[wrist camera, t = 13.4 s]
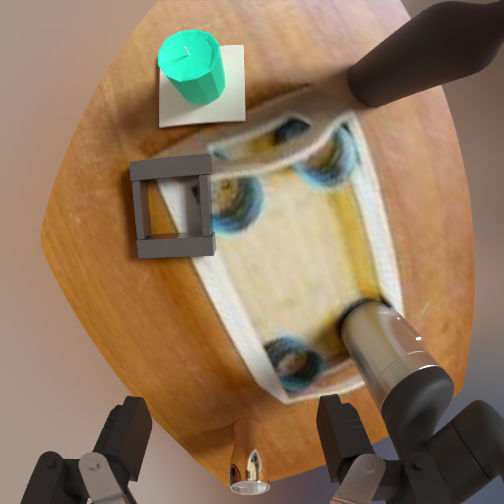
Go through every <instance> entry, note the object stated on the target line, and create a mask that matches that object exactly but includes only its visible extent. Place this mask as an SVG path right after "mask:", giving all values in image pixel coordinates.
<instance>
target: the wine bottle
mask: <svg viewBox="0 0 504 504" xmlns="http://www.w3.org/2000/svg"><path fill="white" fill-rule="evenodd" d="M503 42H504V0H500V1H498V2H493V3H489V4H473V3H466V2H460V1H446V2H442V3H438V4H435V5H432V6H430V7H429V8H427V9H426V10H423V11H422V12H421V13H419V14H418V15H417V16H415V17H414V18H412V19H411V20H410V21H408V22H407V23H406V24H404V25H403V26H402V27H401V28H399V29H398V30H397V31H395V32H394V33H393V34H391V35H390V36H389V37H388V38H386V39H385V40H384V41H383V42H381V43H380V44H379V45H378V46H376V47H375V48H374V49H373V50H372V51H370V52H369V53H368V54H367V55H366V56H364V57H363V58H362V59H361V60H360V61H358V62H357V63H356V64H355V65H354V66H353V67H352V68H351V69H350V72H349V75H348V83H349V87H350V89H351V91H352V93H353V94H354V96H355V97H356V98H357V99H358V100H360V101H361V102H362V103H364V104H366V105H369V106H375V107H377V106H383V105H386V104H388V103H391V102H393V101H396V100H399V99H401V98H404V97H407V96H410V95H412V94H415V93H418V92H421V91H424V90H427V89H430V88H432V87H435V86H439V85H442V84H445V83H447V82H451V81H454V80H458V79H461V78H464V77H467V76H470V75H473V74H475V73H478V72H480V71H481V70H483V69H484V68H486V67H487V66H488V65H490V63H491V62H492V61H493V59H494V58H495V57H496V55H497V53H498V51H499V49H500V47H501V45H502V44H503Z"/></svg>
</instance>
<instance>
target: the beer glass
mask: <svg viewBox="0 0 504 504" xmlns="http://www.w3.org/2000/svg"><path fill="white" fill-rule="evenodd" d="M233 432H234V436H235V443H234V448H233V451H232V456H231V460H230V469H229V471H230V486H231V487H230V488H231V490H232V491H233V492H235V493H238V494H243V495H256V494H261V493H264V492H266V491H268V490H269V489H270V468H269V462H268V458H267V454H266V451H265V448H264V445H263V441H262V435H263V424H262V423H261V422H260V421H258V420H255V419H242V420H239V421H237V422H236V423H235V424H234V425H233Z"/></svg>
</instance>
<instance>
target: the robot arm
mask: <svg viewBox="0 0 504 504" xmlns="http://www.w3.org/2000/svg"><path fill="white" fill-rule="evenodd" d="M341 339H342V341H343V343H344V345H345V347H346V348H347V350H348V352H349V354H350V356H351V358H352V360H353V362H354V364H355V365H356V367H357V369H358V371H359V373H360V375H361V377H362V379H363V381H364V383H365V385H366V387H367V388H368V390H369V392H370V394H371V396H372V398H373V400H374V402H375V404H376V406H377V408H378V410H379V412H380V414H381V416H382V418H383V420H384V422H385V424H386V428H387V431H388V434H389V436H390V438H391V440H392V442H393V444H394V447H395V449H396V452H397V454H398V457H399V460H385V459H382V458H381V457H380V456H378V455H376V453H375V452H374V450H373V448H372V446H371V443H370V441H369V438H368V436H367V434H366V431H365V429H364V427H363V424H362V422H361V420H360V417H359V415H358V412H357V410H356V409H355V408H354V407H353V406H352V405H351V404H350V403H345V404H341V401H340V398H339V396H338V394H332V395H325V396H321V397H320V401H319V406H318V412H317V418H316V423H317V429H318V433H319V437H320V441H321V444H322V448H323V452H324V456H325V460H326V464H327V467H328V471H329V475H330V479H331V482H332V483H335V482H339V485H340V487H339V489H338V491H337V492H336V494H335V496H334V497H333V499H332V500H331V501H330V503H329V504H370V502H371V501H372V500H374V501H376V500H385V501H386V504H461V503H463V502H464V501H466V500H467V499H468V498H470V497H471V496H473V495H474V494H475V493H476V492H478V491H479V490H481V489H482V488H483V487H484V486H485V485H487V484H488V483H489V482H491V481H492V479H494V478H495V477H497V476H499V475H500V476H501V477H502V480H503V482H504V419H503V418H502V417H501V415H500V414H499V413H498V412H497V411H496V410H495V409H494V408H493V407H492V406H491V405H489V404H488V403H486V402H484V401H482V400H476V401H473V402H472V403H471V404H469V405H468V406H467V407H466V408H464V409H463V410H462V411H461V412H460V413H459V414H458V415H457V416H455V417H454V418H453V419H452V421H450V422H449V423H448V424H446V425H445V426H444V427H443V428H442V429H441V430H440V431H438V432H437V433H436V434H434V435H433V433H434V430H435V428H436V426H437V424H438V422H439V420H440V418H441V417H442V415H443V414H444V412H445V411H446V409H447V407H448V406H449V403H450V402H451V399H452V397H453V393H454V384H453V381H452V379H451V378H450V376H449V375H448V374H447V373H446V371H445V370H444V369H443V368H442V367H441V366H440V365H439V364H438V362H437V361H436V360H435V359H434V358H433V357H432V356H431V355H430V353H429V352H428V351H427V350H426V349H425V348H424V347H423V345H422V344H421V343H420V341H421V336H420V335H419V334H418V332H417V331H416V330H415V329H414V328H413V327H412V326H411V325H410V324H409V323H408V322H407V321H406V320H405V319H404V318H403V317H402V316H401V315H400V314H399V313H398V312H397V311H396V310H395V309H394V308H393V307H387V306H386V305H384V304H383V303H381V302H377V301H370V302H366V303H362V304H360V305H358V306H357V307H355V308H354V309H353V310H352V311H351V312H350V313H349V314H348V315H347V316H346V318H345V319H344V321H343V323H342V326H341ZM151 430H152V418H151V416H150V413H149V411H148V408H147V405H146V403H145V400H144V398H142V397H133V396H127V397H126V399H125V401H124V403H123V405H117V406H116V407H115V408H114V409H113V410H111V412H110V414H109V416H108V418H107V421H106V422H105V425H104V428H103V429H102V431H101V433H100V436H99V438H98V440H97V443H96V445H95V447H94V450H93V451H92V452H91V453H87V454H85V455H83V456H82V457H81V459H63V458H62V457H61V456H60V455H59V454H58V453H56V452H52V451H49V452H45V453H44V454H42V455H41V456H40V458H39V460H38V462H37V464H36V466H35V469H34V471H33V473H32V476H31V478H30V480H29V483H28V485H27V488H26V490H25V493H24V495H23V498H22V501H21V504H87V500H88V498H91V500H92V503H91V504H137V502H136V500H135V499H134V497H133V495H132V493H131V492H130V490H129V488H128V482H129V480H130V481H135V482H137V480H138V476H139V473H140V469H141V465H142V462H143V458H144V454H145V451H146V447H147V444H148V440H149V437H150V433H151Z"/></svg>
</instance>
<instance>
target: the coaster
mask: <svg viewBox="0 0 504 504" xmlns="http://www.w3.org/2000/svg"><path fill="white" fill-rule="evenodd" d="M220 51H221V56H222V61H223V67H224V72H225V82H226V88H225V89H224V91H223V93H222V94H221V96H220V97H219V98H218V99H216V100H214V101H213V102H211V103H209V104H199V105H196V104H194V103H192V102H189V101H187V100H186V99H185V98H184V97H183V96H182V94H181V93H180V92H179V91H178V90H177V89H176V87H175V86H174V85H173V84H172V83H171V81H170V80H169V79H168V78H167V77H166V76H165V74H164V73H163V71H162V70H161V68H160V90H159V127H160V128H166V127H174V126H184V125H194V124H206V123H221V122H244V121H246V117H245V83H244V48H243V45H229V46H220Z"/></svg>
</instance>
